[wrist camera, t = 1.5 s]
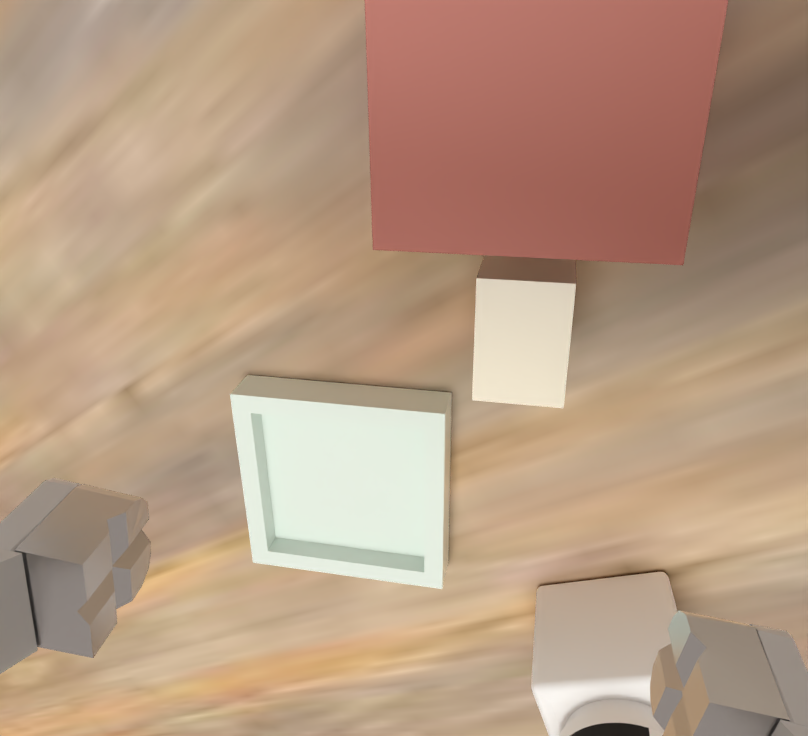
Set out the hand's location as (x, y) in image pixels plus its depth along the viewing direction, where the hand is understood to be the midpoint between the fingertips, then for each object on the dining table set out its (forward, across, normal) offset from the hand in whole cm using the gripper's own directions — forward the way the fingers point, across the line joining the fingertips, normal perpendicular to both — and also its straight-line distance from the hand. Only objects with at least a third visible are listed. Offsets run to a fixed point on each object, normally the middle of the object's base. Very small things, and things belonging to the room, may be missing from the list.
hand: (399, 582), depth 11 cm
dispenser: (+23, -1, -7) cm, 24 cm away
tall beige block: (+23, -3, +3) cm, 23 cm away
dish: (+23, +5, +16) cm, 28 cm away
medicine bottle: (+23, -11, +22) cm, 34 cm away
